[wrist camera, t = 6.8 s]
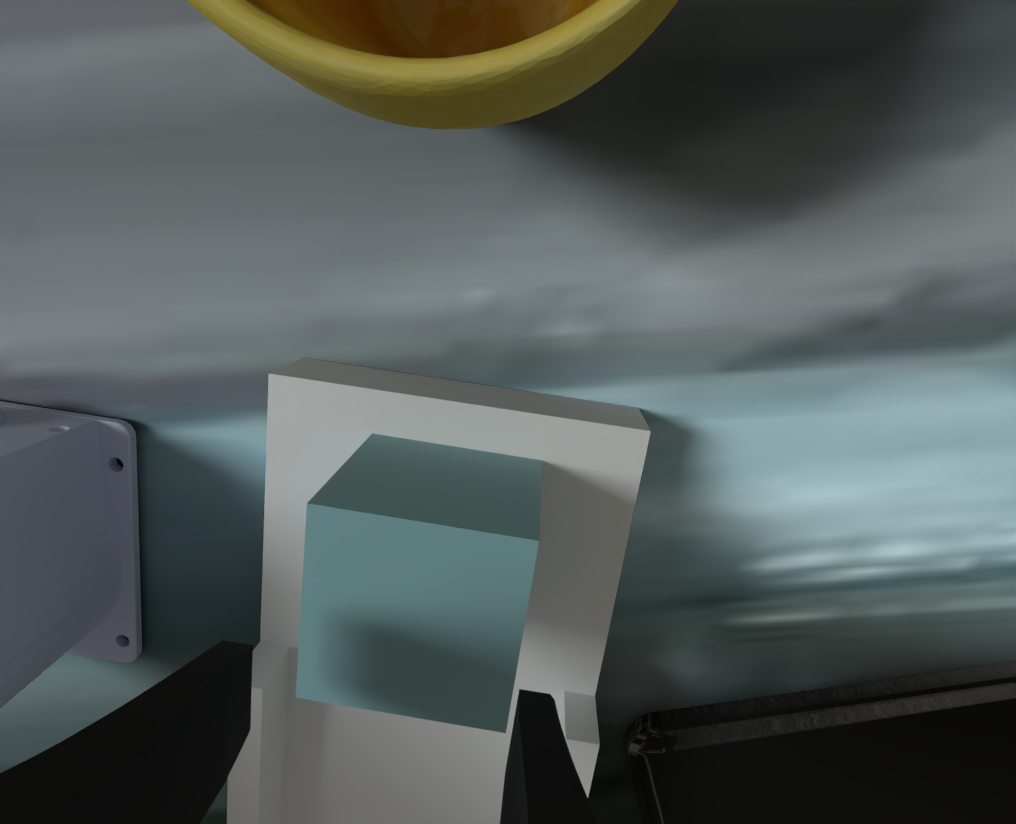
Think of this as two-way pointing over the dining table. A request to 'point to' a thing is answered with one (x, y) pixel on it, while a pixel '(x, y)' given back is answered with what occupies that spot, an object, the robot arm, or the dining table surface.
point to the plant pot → (441, 51)
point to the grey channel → (549, 620)
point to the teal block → (419, 581)
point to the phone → (837, 754)
